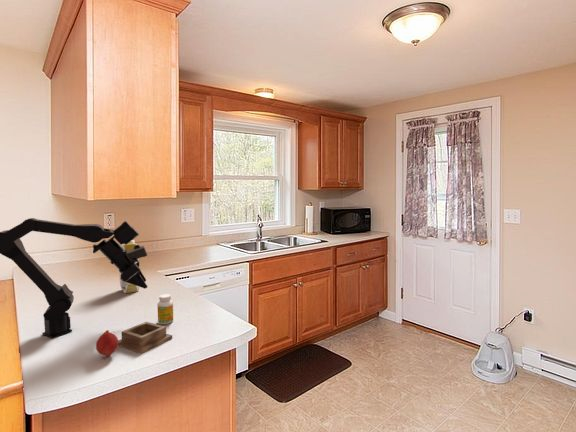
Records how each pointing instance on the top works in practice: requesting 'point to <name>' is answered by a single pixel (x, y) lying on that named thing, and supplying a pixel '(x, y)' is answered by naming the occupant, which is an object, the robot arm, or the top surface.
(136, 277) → the robot arm
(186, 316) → the top surface
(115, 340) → the onion
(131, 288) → the juice carton
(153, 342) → the bottle holder
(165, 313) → the supplement bottle
